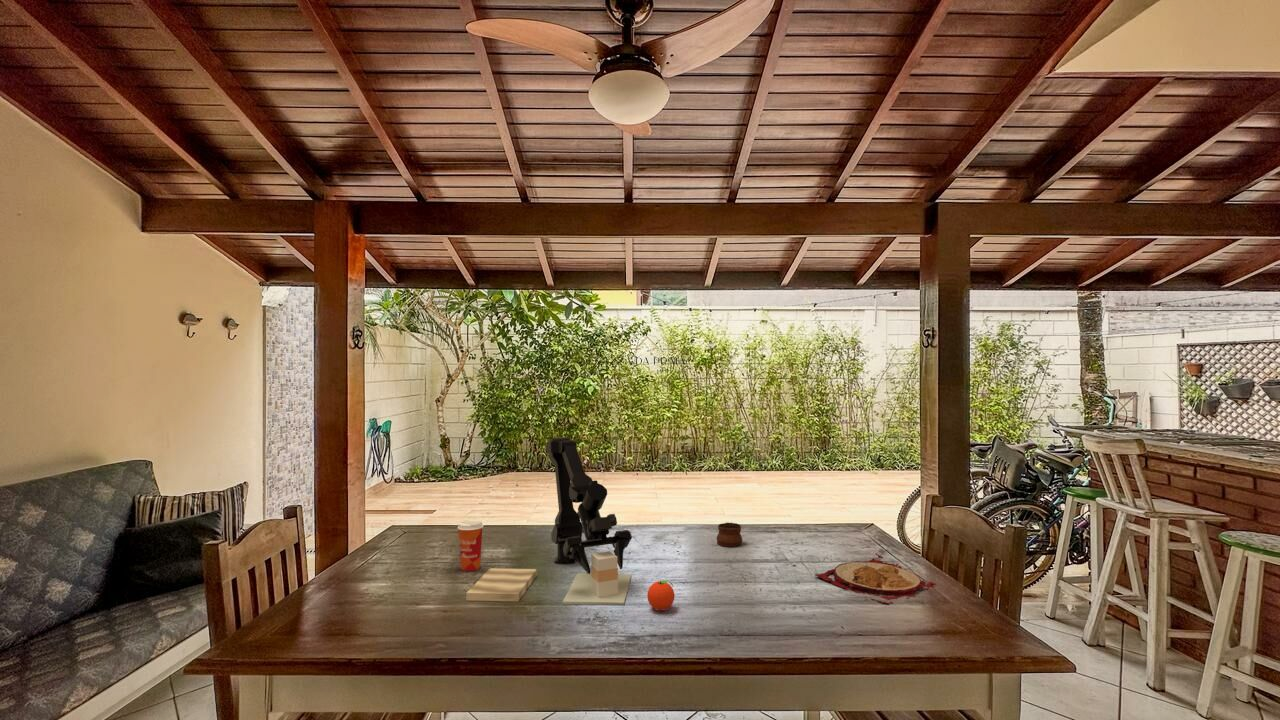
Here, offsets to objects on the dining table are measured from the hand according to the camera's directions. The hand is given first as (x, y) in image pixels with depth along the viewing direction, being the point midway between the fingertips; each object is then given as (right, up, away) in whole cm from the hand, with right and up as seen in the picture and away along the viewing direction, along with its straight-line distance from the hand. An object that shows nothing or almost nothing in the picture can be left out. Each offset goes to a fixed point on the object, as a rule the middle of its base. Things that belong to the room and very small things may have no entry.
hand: (605, 570), depth 164 cm
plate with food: (+77, -7, +9) cm, 78 cm away
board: (-29, -7, +7) cm, 31 cm away
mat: (-2, -7, +5) cm, 9 cm away
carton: (0, -6, +1) cm, 6 cm away
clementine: (+15, -7, -9) cm, 19 cm away
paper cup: (-43, -8, +24) cm, 50 cm away
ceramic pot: (+40, -8, +48) cm, 63 cm away
